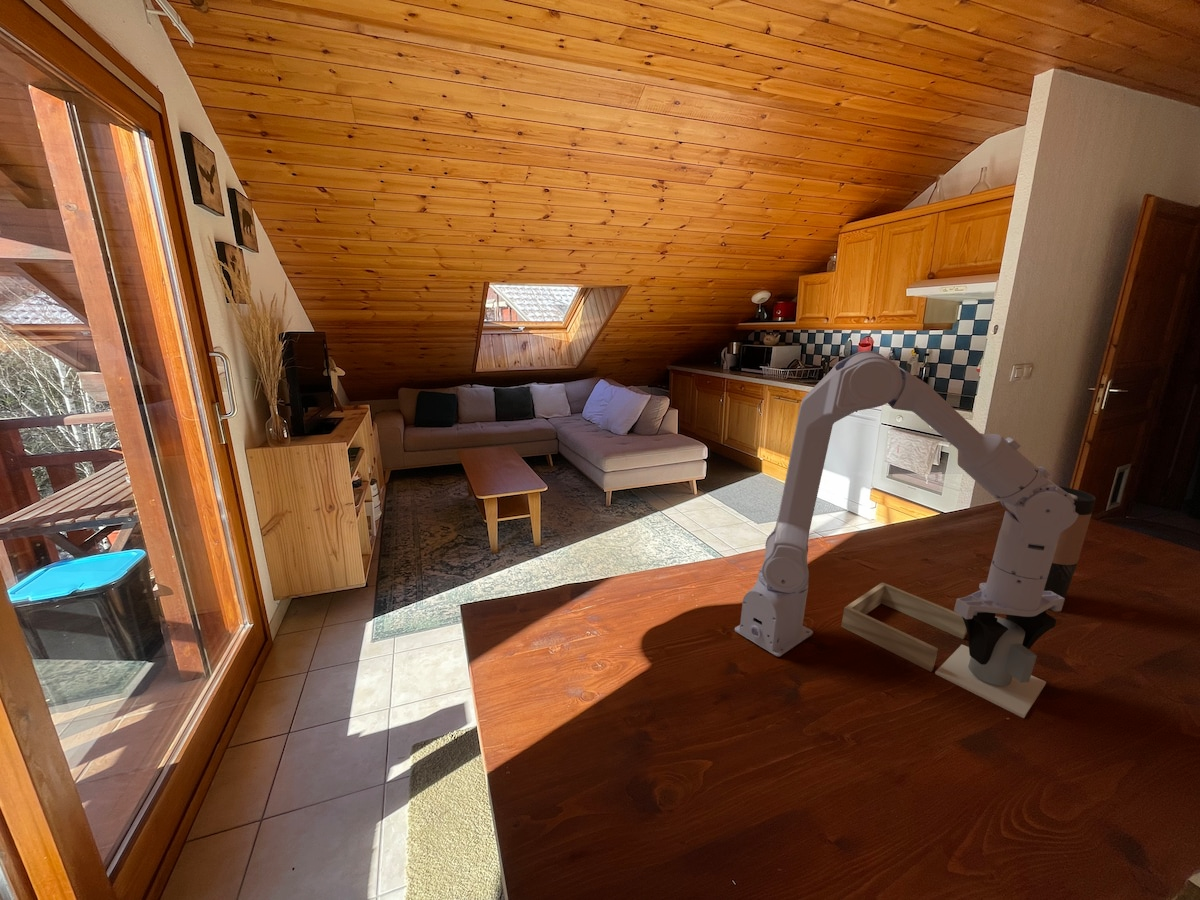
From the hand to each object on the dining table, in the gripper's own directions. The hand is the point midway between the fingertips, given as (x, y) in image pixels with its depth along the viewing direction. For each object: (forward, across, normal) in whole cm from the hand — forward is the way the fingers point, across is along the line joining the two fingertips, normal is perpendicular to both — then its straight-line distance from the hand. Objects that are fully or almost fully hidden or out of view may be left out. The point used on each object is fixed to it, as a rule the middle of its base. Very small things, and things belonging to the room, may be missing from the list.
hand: (994, 657), depth 70 cm
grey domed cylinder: (+3, 0, +1) cm, 3 cm away
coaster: (+3, 0, 0) cm, 3 cm away
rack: (+3, +4, -11) cm, 13 cm away
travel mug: (+4, -27, -17) cm, 32 cm away
